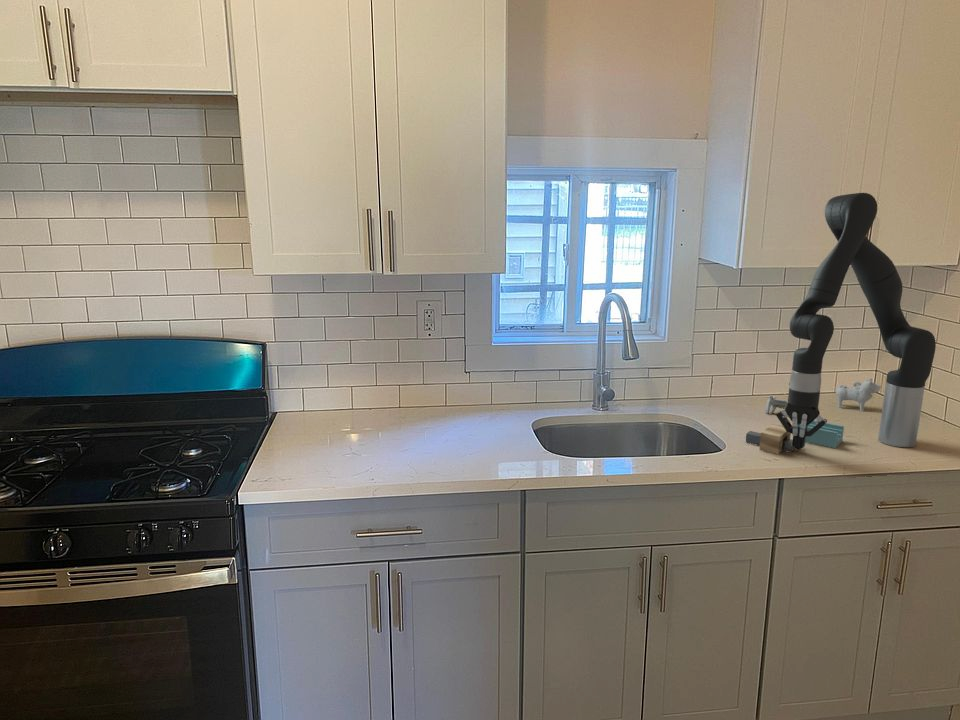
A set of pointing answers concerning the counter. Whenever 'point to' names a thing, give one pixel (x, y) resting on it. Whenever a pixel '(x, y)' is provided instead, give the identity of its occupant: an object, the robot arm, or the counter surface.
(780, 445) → the bore block
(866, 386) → the dog figurine
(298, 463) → the counter surface
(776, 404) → the caliper
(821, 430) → the block
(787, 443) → the metal bar
